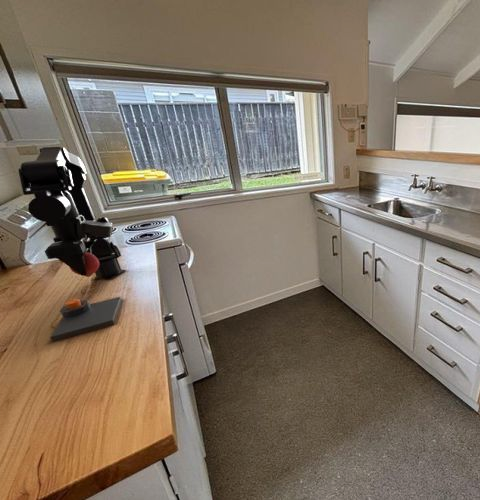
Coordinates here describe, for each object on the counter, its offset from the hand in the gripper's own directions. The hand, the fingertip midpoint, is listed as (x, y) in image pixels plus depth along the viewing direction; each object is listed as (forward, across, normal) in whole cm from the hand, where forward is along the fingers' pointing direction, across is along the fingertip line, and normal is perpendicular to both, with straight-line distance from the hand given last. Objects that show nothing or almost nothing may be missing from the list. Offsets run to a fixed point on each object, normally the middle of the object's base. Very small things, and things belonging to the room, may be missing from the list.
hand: (87, 271), depth 76 cm
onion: (+2, 0, 0) cm, 2 cm away
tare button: (+9, 0, +5) cm, 11 cm away
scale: (+12, -4, +2) cm, 13 cm away
